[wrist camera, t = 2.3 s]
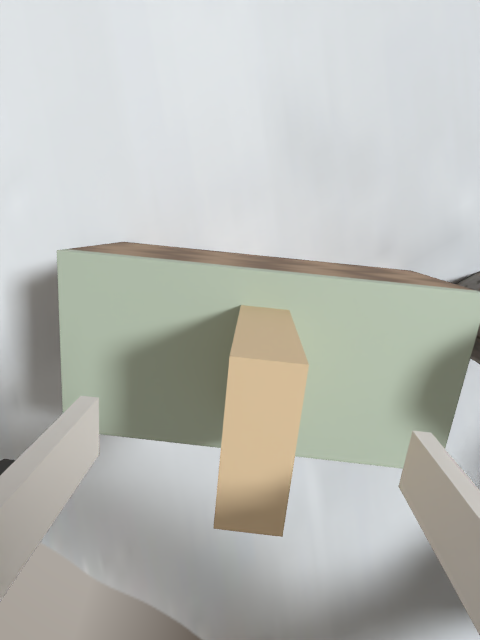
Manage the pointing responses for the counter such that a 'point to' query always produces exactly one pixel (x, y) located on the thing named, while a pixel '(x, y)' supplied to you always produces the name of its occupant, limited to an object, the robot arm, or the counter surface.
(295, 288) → the lid
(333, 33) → the counter surface
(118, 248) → the wooden box
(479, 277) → the spray can
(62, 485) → the robot arm
